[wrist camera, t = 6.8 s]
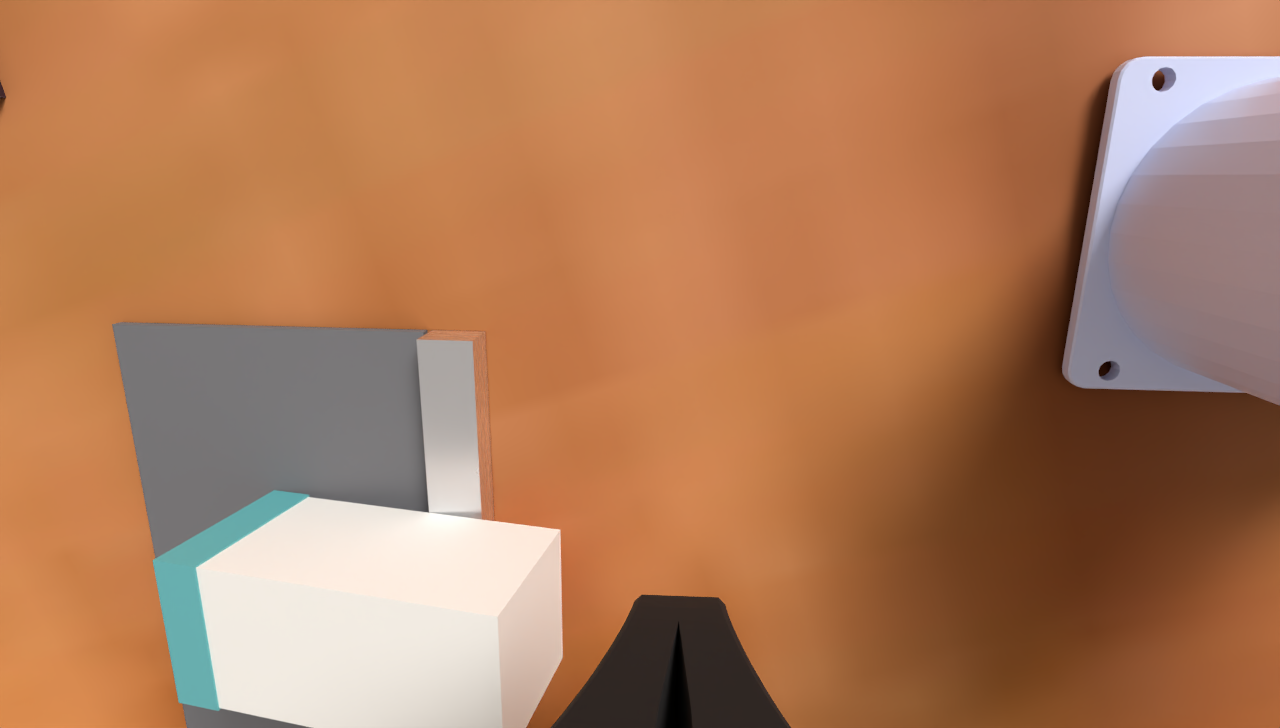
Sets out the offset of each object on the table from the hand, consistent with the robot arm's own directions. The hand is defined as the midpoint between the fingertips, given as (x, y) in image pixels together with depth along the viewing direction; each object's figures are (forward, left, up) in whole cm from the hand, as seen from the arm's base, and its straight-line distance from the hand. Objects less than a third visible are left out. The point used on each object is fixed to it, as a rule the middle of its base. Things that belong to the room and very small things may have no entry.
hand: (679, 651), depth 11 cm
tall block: (+4, +4, -5) cm, 8 cm away
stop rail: (+6, +4, -9) cm, 12 cm away
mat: (+12, +4, -9) cm, 15 cm away
